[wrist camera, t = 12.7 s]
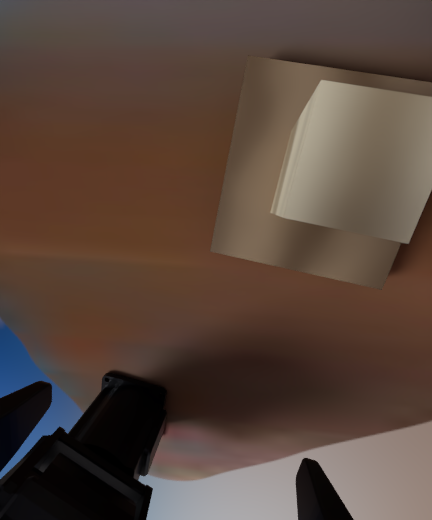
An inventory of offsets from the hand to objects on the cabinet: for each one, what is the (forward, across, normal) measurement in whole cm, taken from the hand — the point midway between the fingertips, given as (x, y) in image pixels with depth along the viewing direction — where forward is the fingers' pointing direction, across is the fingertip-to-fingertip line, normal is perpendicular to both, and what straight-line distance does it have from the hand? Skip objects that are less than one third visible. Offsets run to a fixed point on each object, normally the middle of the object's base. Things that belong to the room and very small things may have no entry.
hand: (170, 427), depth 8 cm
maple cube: (+10, -5, -10) cm, 15 cm away
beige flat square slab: (+12, -5, -10) cm, 16 cm away
